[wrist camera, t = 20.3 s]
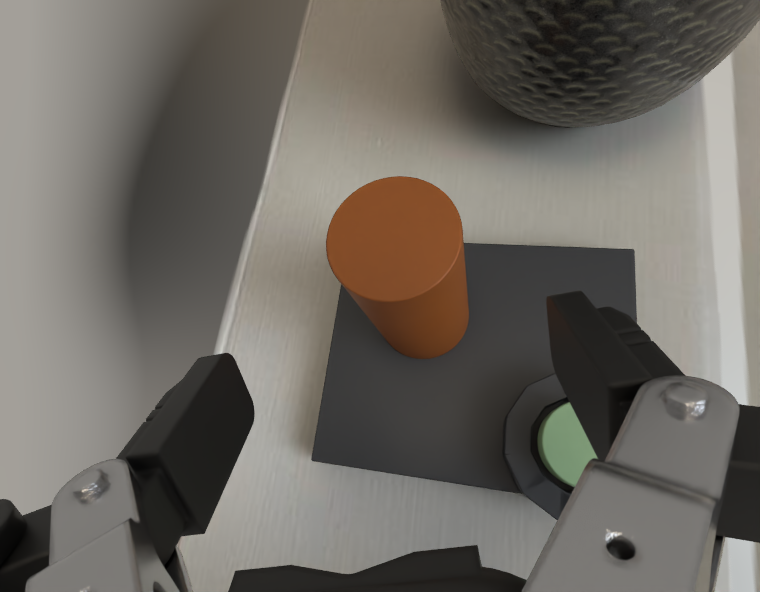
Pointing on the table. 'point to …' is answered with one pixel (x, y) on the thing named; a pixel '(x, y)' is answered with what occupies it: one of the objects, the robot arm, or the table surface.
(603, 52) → the planter
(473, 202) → the table surface
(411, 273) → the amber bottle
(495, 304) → the scale
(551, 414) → the button
